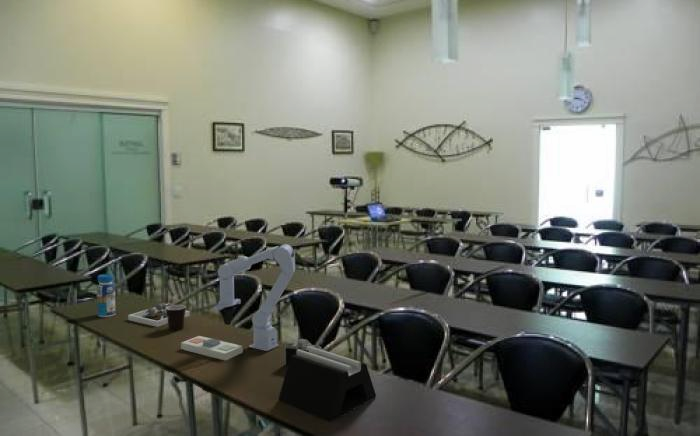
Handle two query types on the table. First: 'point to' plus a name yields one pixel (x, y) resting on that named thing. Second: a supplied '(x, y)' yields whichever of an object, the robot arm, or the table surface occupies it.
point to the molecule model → (158, 307)
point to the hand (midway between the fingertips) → (227, 324)
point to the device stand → (326, 383)
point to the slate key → (211, 342)
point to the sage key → (226, 347)
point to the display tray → (139, 318)
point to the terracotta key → (197, 340)
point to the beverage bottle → (106, 296)
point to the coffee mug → (176, 317)
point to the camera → (296, 348)
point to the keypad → (212, 349)
